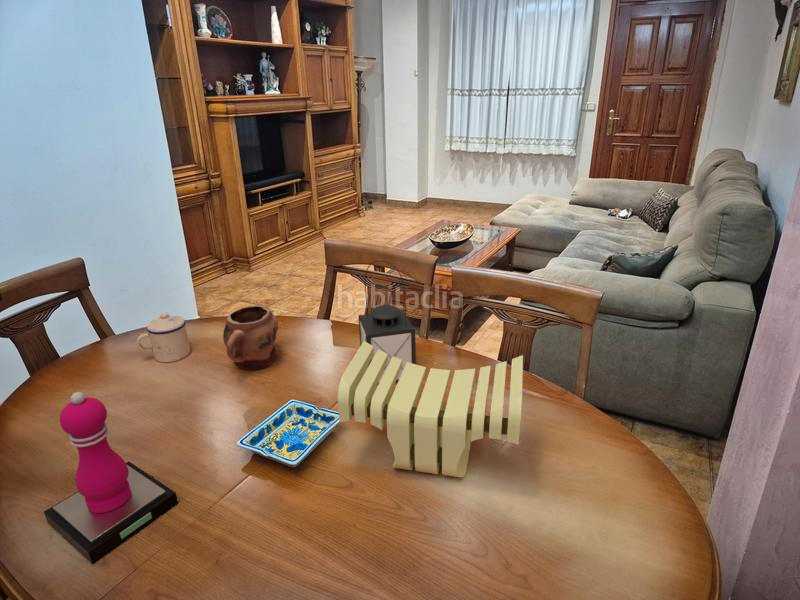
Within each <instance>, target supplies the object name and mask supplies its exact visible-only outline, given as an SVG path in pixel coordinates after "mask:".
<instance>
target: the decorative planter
mask: <svg viewBox="0 0 800 600" xmlns="http://www.w3.org/2000/svg"><path fill="white" fill-rule="evenodd" d="M225 322H226V323H225V326H224V328H223V332H222V333H223V334H222V335H223V336H222V338H223V343H224V345H225V348H226V355H227V357H228V358H229V359H230V360H231V361H232V362H233V363H234V365H235V366H236V367H237V368H238V369H241V370H245V371H256V370H262V369H265V368H267V367H268V366H270V365H272V364H273V362H274V361H275V359H276V358H277V352H276V347H275V346H276V345H275V342H276V339H277V333H278V331H279V320H278V318H277V317H276V316H275V315H274V314H273V312H272V311H271V309H270V307H269V306H268V305H265V304H254V305H250V306H249V305H247V306H243V307H239V309H236V310H235V311H233V312H231V313H230V314H229V315H228V316H227V318H226V321H225Z"/></svg>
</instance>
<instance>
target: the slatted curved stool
mask: <svg viewBox="0 0 800 600" xmlns="http://www.w3.org/2000/svg"><path fill="white" fill-rule="evenodd" d="M373 355H374V346H372V345H370V344H369V343H367V342H365V341H364V342H363V343H362V345H361V346H359V348H358V349H357V351H356V353H355V355H354V356H353V357H352V359H351V360H350V362H349V363H348V365H347V367H346V368H345V370H344V371H343V373H342V374H341V378H340V381H339V384H338V390H337V411H338V421H339V423H344V422H350V421H351V420H352V418H353V417H354V422H357V423H364V424H366V422H367V421H368V418H369V419H370V425H372V426H374V427H376V428H377V429H379V430H380V431H383V428H384V427H385V424H386V438H387V440H388V441H389V444H390V446H391V449H392V452H393V455H394V456H393V457H394V460H393V464H392V467H393V468H394V469H398V470H399V469H400V470H407V471H413V469H414V470H415V472H421V473H426V474H427V473H428V474H435V475H438V474H439V472H440V469H441V474H442V476H448V477H454V478H464V477H465V476H466V473H467V469H468V463H469V457H470V449H471V445H472V442H474V441H476V440H481V439H484V435H485V434H484V433H488V439H493V440H499V441H500V440H502V435H505V436H506V442H508V443H511V444H512V443H513V444H514V445H517V446H519V444H520V433H521V421H522V403H523V378H524V377H523V375H524V373H523V372H524V371H523V370H524V354H522V355H519V356H517V357H514V358H512V359H511V368H510V385H509V386H510V387H509V399H508V415H507V417H503V416H504V415H503V413H504V400H505V387H506V375H507V360H505V361H502V362H499V363H495V369H494V376H493V377H494V379H493V388H492V394H491V405H490V412H489V413H490V414H489V415H487V406H488V398H489V397H488V395H489V388H490V379H491V367H492V365H486V366H481V367H480V368H479V373H478V380H477V386H476V392H475V398H474V404H473V409H472V413H470V412H471V404H472V398H473V391H474V386H475V381H476V368H468V369H467V368H466V369H455V370H454V373H453V377H452V381H451V386H450V389H449V393H448V398H447V401H446V405H445V400H446V399H445V398H446V393H447V389H448V386H449V381H450V378H451V370H450V369H440V368H433V367H430V369H429V373H428V375H427V378H426V381H425V384H424V387H423V383H424V380H425V377H426V374H427V367H426V366H423V365H419V364H416V365H415V364H412V363H409V362H407V363H406V365H405V367H404V370H403V372H402V374H401V377H400V379H399V381H398V383H396V380H397V377H398V375H399V372H400V370H401V367H402V360H401V359H398V358H396V357H394V356H392V358H391V360H390V362H389V364H388V366H387V368H386V370H385V372H384V375H383V377H382V379H381V381H380V383H379V385H378V382H379V379H380V377H381V374H382V372H383V370H384V368H385V365H386V363H387V361H388V354H387V353H385V352H383V351H381V350H379V349H378V351H377V352H376V354H375V356H374V358H373V359H372V357H373ZM371 359H372V361H371ZM370 361H371V363H370ZM369 363H370V365H369ZM368 365H369V367H368ZM367 367H368V368H367ZM366 369H367V370H366ZM365 371H366V372H365ZM377 385H378V386H377ZM395 385H396V386H395ZM422 387H423V390H422V393H421V389H422ZM420 393H421V396H420ZM419 396H420V397H419ZM419 398H420V399H419ZM418 400H419V401H418ZM444 405H445V408H444ZM443 409H444V410H443Z"/></svg>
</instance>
